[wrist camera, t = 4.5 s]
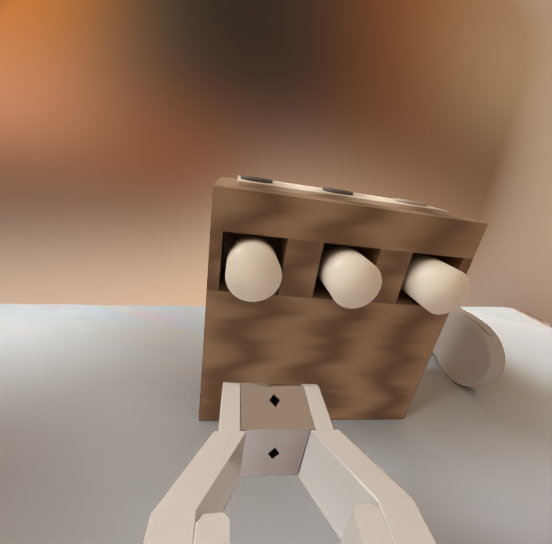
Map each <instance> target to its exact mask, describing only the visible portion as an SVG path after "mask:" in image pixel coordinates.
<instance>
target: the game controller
mask: <svg viewBox="0 0 552 544" xmlns="http://www.w3.org/2000/svg"><path fill="white" fill-rule="evenodd" d="M432 353H433V354H434V355H435V356H436V358H437V360H438V363H439V365H440V367H441V368H442V370H443V371H444V373H445V374H446V375H447V376H448V377H449V378H450V379H451V380H452V381H454V382H455V383H457V384H460V385H462V386H467V387H483V386H488V385H491V384H493V383H494V382H495V381H497V380H498V379H499V377H500V376H501V374H502V372H503V369H504V365H505V354H504V350H503V346H502V344H501V342H500V340H499V338H498V336H497V335H496V334H495V332H494V331H493V330H492V329H491V328H490V327H489V326H488V325H487V324H485V323H484V322H483V321H481V320H480V319H478V318H477V317H475V316H474V315H472V314H471V313H469V312H466V311H465V310H463V309H462V308H460V307H458V308H457V309H455V310H453V311H452V312H450V313H449V315H448V317H447V320H446V322H445V324H444V326H443V329H442V331H441V333H440V336H439V338H438V340H437V342H436V345H435V347H434V349H433V352H432Z"/></svg>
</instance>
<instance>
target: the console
mask: <svg viewBox="0 0 552 544" xmlns="http://www.w3.org/2000/svg"><path fill="white" fill-rule="evenodd" d="M487 225H488V224H487V223H483V222H480V221H476V220H472V219H468V218H464V217H460V216H457V215H453V214H449V213H448V211H446V210H442V209H437V208H434V207H430V206H426V203H423V202H418V201H412V200H407V199H400V198H396V199H392V198H385V197H378V196H372V195H365V194H358V193H353V192H349V191H345V190H339V189H333V188H325V187H323V188H318V187H311V186H304V185H297V184H291V183H284V182H277V181H273V180H269V179H264V178H259V177H252V176H238V179H233V178H226V177H220V178H219V179H218V181H217V182H216V183H215V184H214V185H213V196H212V213H211V229H210V246H209V262H208V279H207V297H206V311H205V328H204V345H203V361H202V378H201V394H200V411H199V420H219V415H220V405H221V396H222V386H223V382H230V383H239V384H240V383H259V384H317V385H318V386H319V388H320V391H321V394H322V397H323V399H324V402H325V405H326V408H327V411H328V413H329V416H330V419H331V420H333V419H403V418H404V416H405V414H406V411H407V409H408V407H409V405H410V402H411V400H412V398H413V395H414V393H415V391H416V388H417V386H418V384H419V382H420V379H421V377H422V375H423V372H424V370H425V368H426V365H427V363H428V361H429V359H430V356H431V354H432V352H433V349H434V347H435V345H436V342H437V340H438V338H439V336H440V333H441V331H442V329H443V326H444V324H445V322H446V320H447V317H448V315H449V313H450V312H449V313H447V314H441V315H437V314H432V313H430V312H429V311H427V310H426V309H425V308H424V307H422V306H421V305H420V304H419V303H418V302H416V301H415V300H414V299H413V298H411V297H410V296H409V295H408V294H406V293H405V292H404V291H403V290H401V286H402V283H403V280H404V277H405V275H406V272H407V269H408V266H409V263H410V260H411V257H412V254H413V253H422V254H428V255H430V256H432V257H434V258H436V259H438V260H440V261H442V262H444V263H446V264H448V265H450V266H452V267H454V268H456V269H458V270H460V271H462V272H463V273H465V274H467V271H468V269H469V267H470V264H471V262H472V260H473V257H474V255H475V253H476V251H477V248H478V246H479V244H480V241H481V239H482V237H483V234H484V232H485V230H486V228H487ZM243 234H251V235H260V236H263V237H265V238H266V239H267V240H268V241H269V242H270V243H271V245H272V247H273V249H274V252H275V254H276V257H277V259H278V262H279V264H280V267H281V270H282V280H281V283H280V286H279V288H278V289H277V291H276V292H275V293H274V294H273V295H272V296H270V297H269V298H267V299H265V300H262V301H258V302H248V301H244V300H241V299H239V298H237V297H236V296H234V295H233V294H232V293H231V292H230V290H229V289H228V287H227V285H226V281H225V271H226V262H227V253H228V249H229V246H230V244H231V243H232V242H233V240H235V239H236V238H237V237H239V236H241V235H243ZM332 244H341V245H349V246H351V247H352V248H354V249H355V250H356V251H357V252H359V253H360V254H361V255H363V256H364V257H365V258H366V259H368V260H369V261H370V262H372V263H373V264H374V265H375V266H376V267H377V268H378V269H379V271H380V273H381V276H382V285H381V288H380V291H379V293H378V294H377V296H376V297H375V298H374V299H373V300H372V301H371V302H370V303H368V304H367V305H365V306H363V307H360V308H355V309H349V308H344V307H342V306H340V305H339V304H337V303H336V302H335V300H334V299H333V298H332V296H331V295H330V293H329V292H328V290H327V289H326V287H325V286H324V284H323V283H322V281H321V280H320V278H319V277H318V275H317V273H318V268H319V263H320V259H321V254H322V250H324V249H325V248H326V247H328V246H330V245H332Z"/></svg>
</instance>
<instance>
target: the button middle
mask: <svg viewBox="0 0 552 544" xmlns="http://www.w3.org/2000/svg"><path fill="white" fill-rule="evenodd" d="M317 275H318V277H319V278H320V280H321V281H322V283H323V284H324V286H325V287H326V289H327V290H328V292H329V293H330V295H331V296H332V298H333V299H334V300H335V302H336V303H337V304H339V305H340V306H342V307H344V308H349V309H355V308H360V307H363V306H365V305H367V304H368V303H370V302H371V301H372V300H373V299H374V298H375V297H376V296H377V294H378V293H379V291H380V288H381V285H382V276H381V273H380V271H379V269H378V268H377V267H376V266H375V265H374V264H373V263H372V262H370V261H369V260H368V259H366V258H365V257H364V256H363V255H361V254H360V253H359V252H357V251H356V250H355V249H354V248H352V247H351V246H349V245H341V244H332V245H330V246H328V247H326V248H325V249H324V250H322V254H321V259H320V263H319V268H318V273H317Z"/></svg>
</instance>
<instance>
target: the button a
mask: <svg viewBox="0 0 552 544" xmlns="http://www.w3.org/2000/svg"><path fill="white" fill-rule="evenodd" d="M281 280H282V270H281V267H280V264H279V262H278V259H277V257H276V254H275V252H274V249H273V247H272V245H271V243H270V242H269V241H268V240H267V239H266V238H265V237H263V236H260V235H251V234H243V235H241V236H239V237H237V238H236V239H235V240H233V242H232V243H231V244H230V246H229V249H228V253H227V262H226V271H225V281H226V285H227V287H228V289H229V290H230V292H231V293H232V294H233V295H234V296H236V297H237V298H239V299H241V300H244V301H248V302H258V301H262V300H265V299H267V298H269V297H270V296H272V295H273V294H274V293H275V292H276V291H277V289H278V288H279V286H280V283H281Z"/></svg>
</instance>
